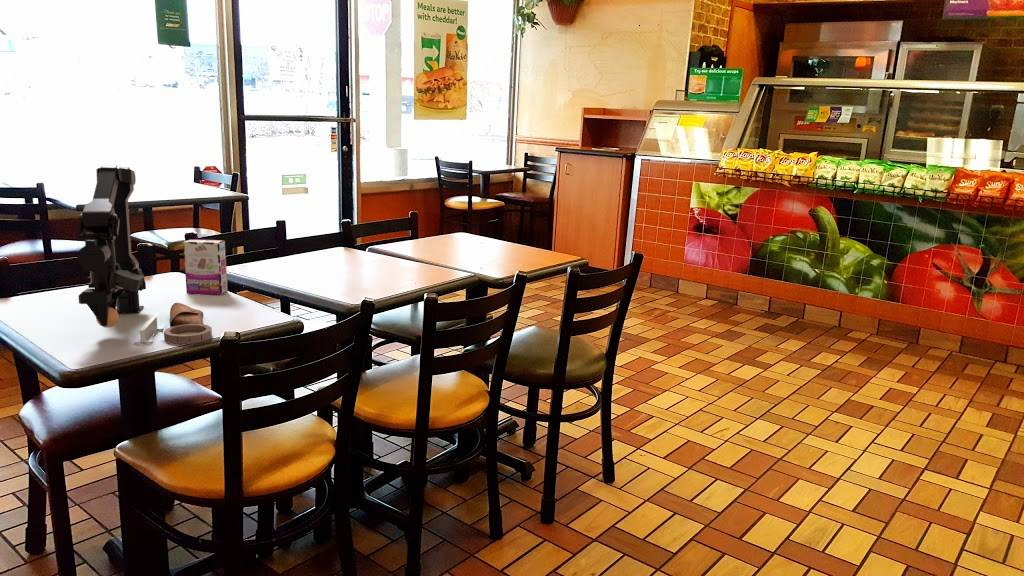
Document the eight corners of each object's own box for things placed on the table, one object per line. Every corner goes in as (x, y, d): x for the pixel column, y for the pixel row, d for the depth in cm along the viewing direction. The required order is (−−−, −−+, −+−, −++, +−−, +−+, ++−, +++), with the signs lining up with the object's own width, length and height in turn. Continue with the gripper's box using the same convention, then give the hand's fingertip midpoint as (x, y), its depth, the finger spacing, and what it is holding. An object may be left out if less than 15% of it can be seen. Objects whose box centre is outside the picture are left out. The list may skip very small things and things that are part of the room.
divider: (147, 330, 194) (146, 316, 194) (163, 329, 195) (162, 316, 194) (133, 344, 183) (132, 330, 182) (151, 344, 184) (150, 330, 183)
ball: (100, 324, 189) (98, 305, 188) (122, 323, 190) (120, 304, 189) (94, 330, 185) (92, 310, 183) (116, 329, 186) (114, 310, 184)
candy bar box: (228, 292, 235) (225, 240, 232) (222, 296, 231) (219, 242, 227) (193, 290, 236) (189, 238, 232) (185, 294, 231) (182, 241, 227)
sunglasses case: (206, 328, 196) (190, 307, 193) (182, 343, 194) (165, 322, 191) (203, 311, 212) (188, 292, 209) (180, 326, 210) (165, 306, 207)
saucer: (170, 331, 194) (169, 324, 193) (215, 331, 196) (215, 323, 195) (159, 345, 183) (158, 336, 183) (207, 344, 185) (207, 335, 185)
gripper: (127, 269, 176) (132, 333, 180) (148, 253, 194) (152, 312, 198) (74, 269, 174) (81, 334, 178) (101, 253, 192) (106, 312, 196)
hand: (107, 322), depth 187 cm, fingers closed on ball, 5 cm apart
